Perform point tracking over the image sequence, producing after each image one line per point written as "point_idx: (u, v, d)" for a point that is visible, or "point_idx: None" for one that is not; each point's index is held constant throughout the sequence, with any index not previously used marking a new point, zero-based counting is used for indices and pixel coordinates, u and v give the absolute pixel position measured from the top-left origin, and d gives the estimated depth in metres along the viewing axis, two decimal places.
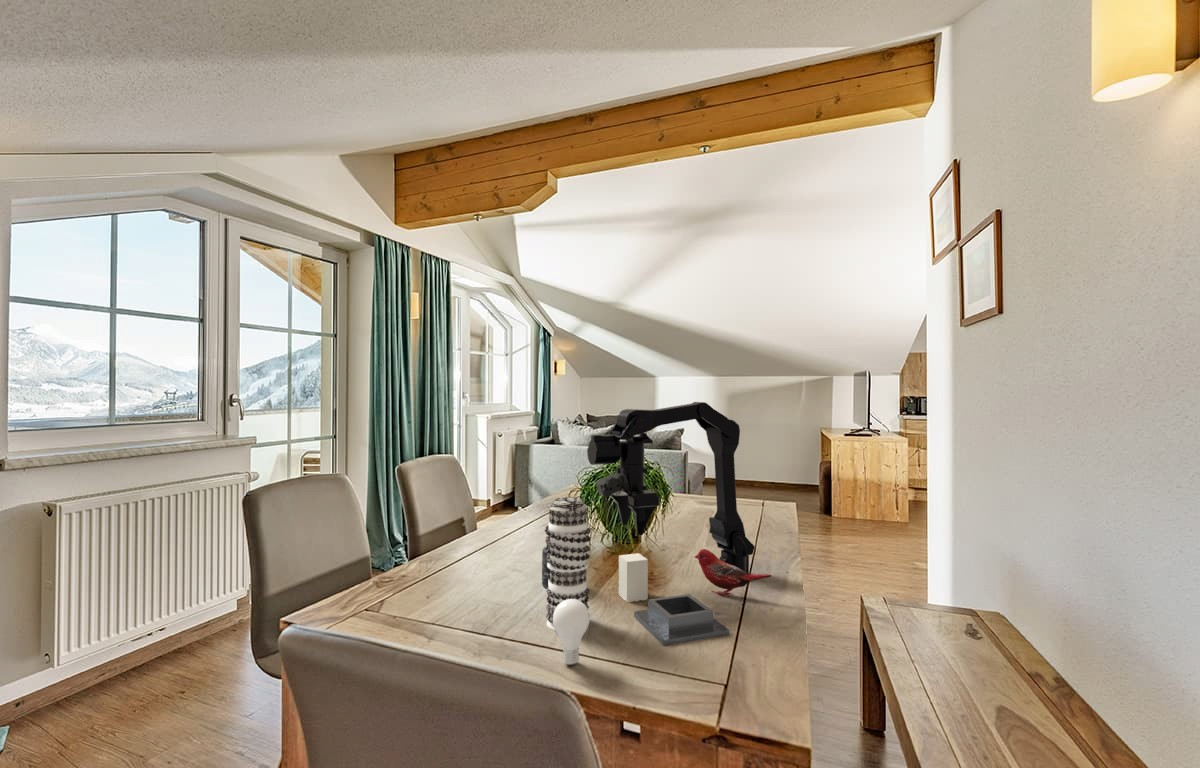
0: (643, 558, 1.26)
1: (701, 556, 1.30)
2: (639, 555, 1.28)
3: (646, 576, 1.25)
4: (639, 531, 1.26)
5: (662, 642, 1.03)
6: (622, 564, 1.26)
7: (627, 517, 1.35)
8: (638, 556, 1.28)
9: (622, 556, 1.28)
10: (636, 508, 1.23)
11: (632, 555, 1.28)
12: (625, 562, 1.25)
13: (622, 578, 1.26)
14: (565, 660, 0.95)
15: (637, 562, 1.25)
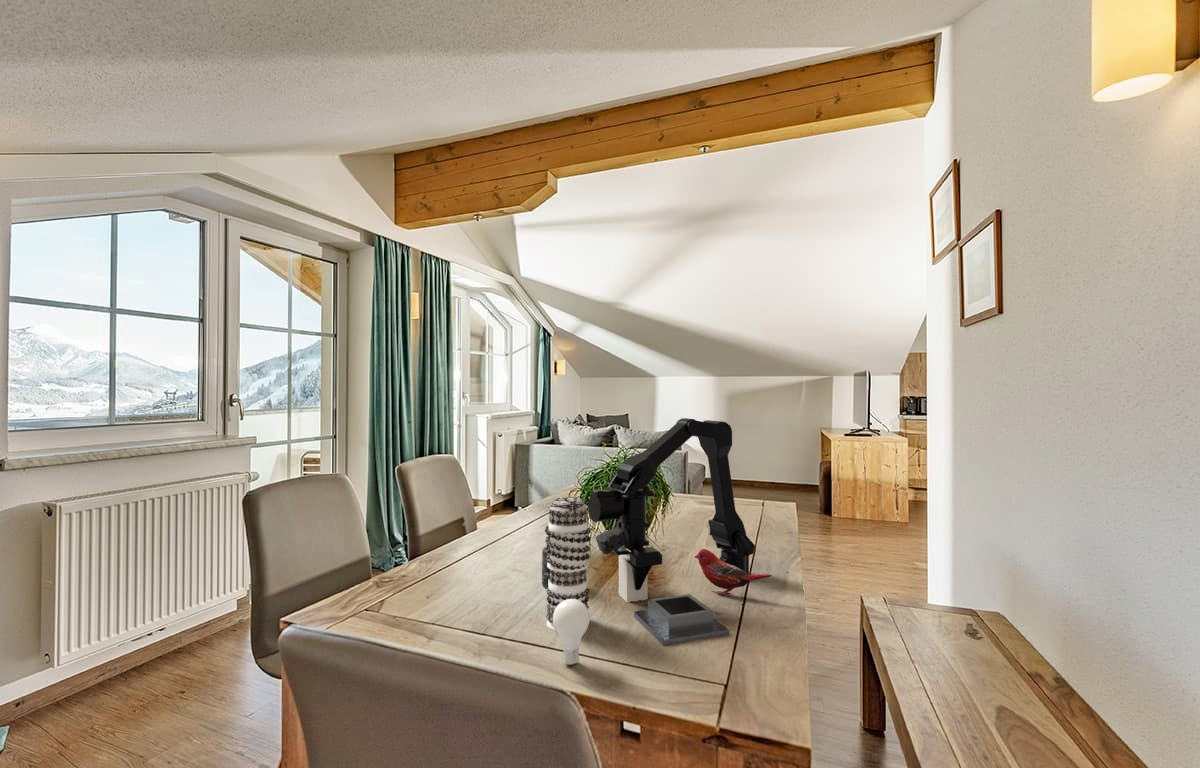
0: None
1: (701, 556, 1.30)
2: None
3: (646, 576, 1.25)
4: (637, 586, 1.24)
5: (662, 642, 1.03)
6: (622, 564, 1.26)
7: None
8: None
9: (622, 556, 1.28)
10: (634, 565, 1.21)
11: None
12: (625, 562, 1.25)
13: (622, 578, 1.26)
14: (565, 660, 0.95)
15: None
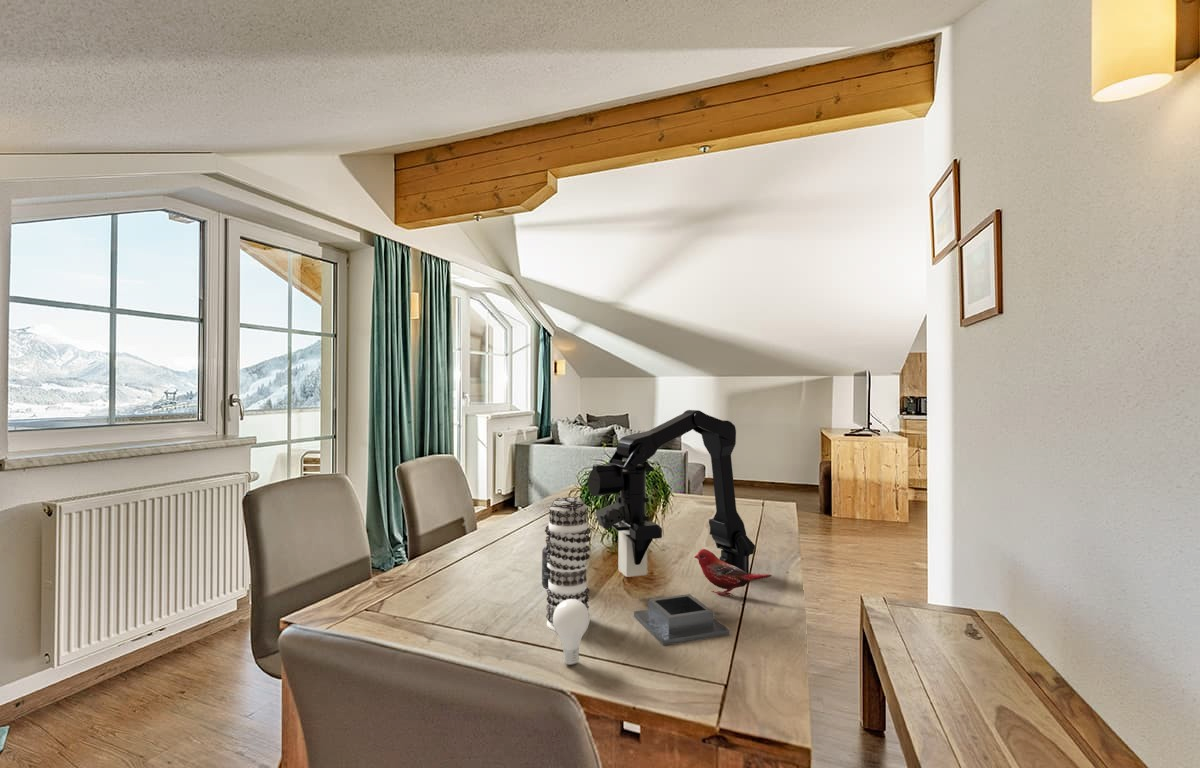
0: None
1: (701, 556, 1.30)
2: None
3: (646, 551, 1.25)
4: (637, 561, 1.24)
5: (662, 642, 1.03)
6: (621, 539, 1.26)
7: None
8: None
9: (622, 531, 1.28)
10: (634, 539, 1.21)
11: None
12: (625, 537, 1.25)
13: (621, 553, 1.26)
14: (565, 660, 0.95)
15: None
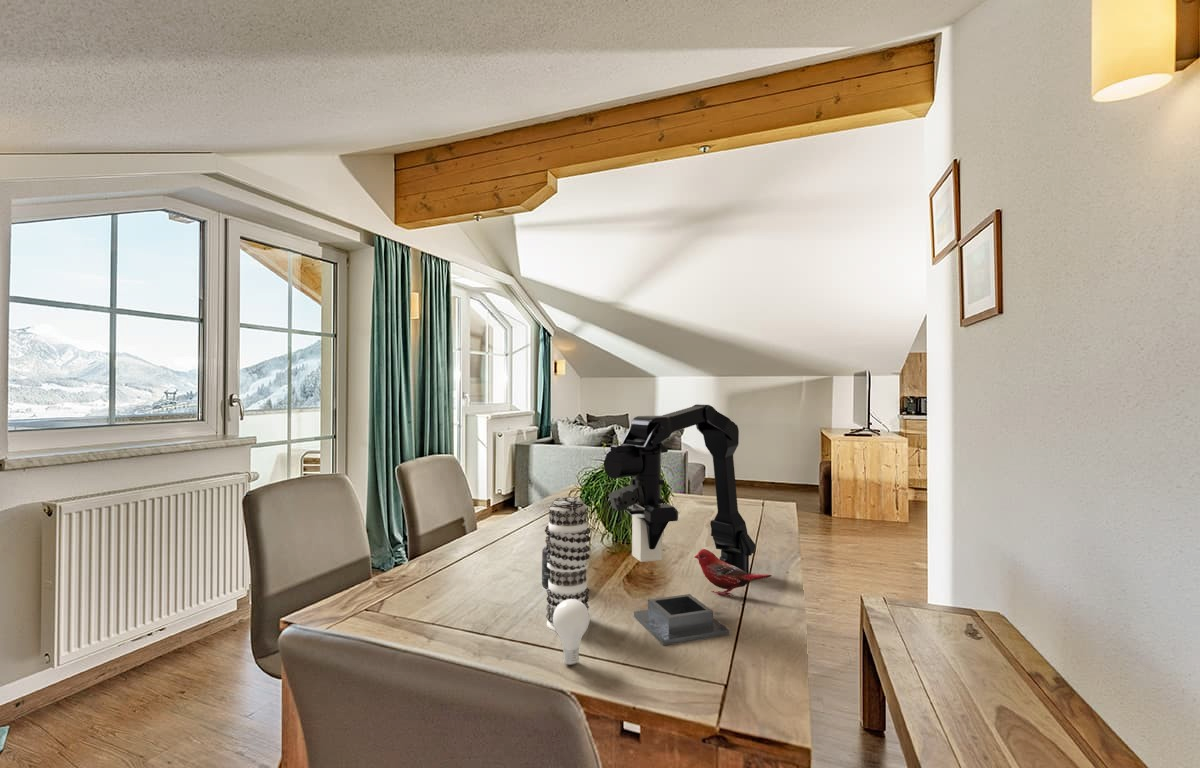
0: None
1: (701, 556, 1.30)
2: None
3: (661, 535, 1.20)
4: (652, 545, 1.19)
5: (662, 642, 1.03)
6: (635, 522, 1.21)
7: None
8: None
9: (636, 515, 1.23)
10: (649, 521, 1.15)
11: None
12: (639, 520, 1.20)
13: (635, 537, 1.21)
14: (565, 660, 0.95)
15: None
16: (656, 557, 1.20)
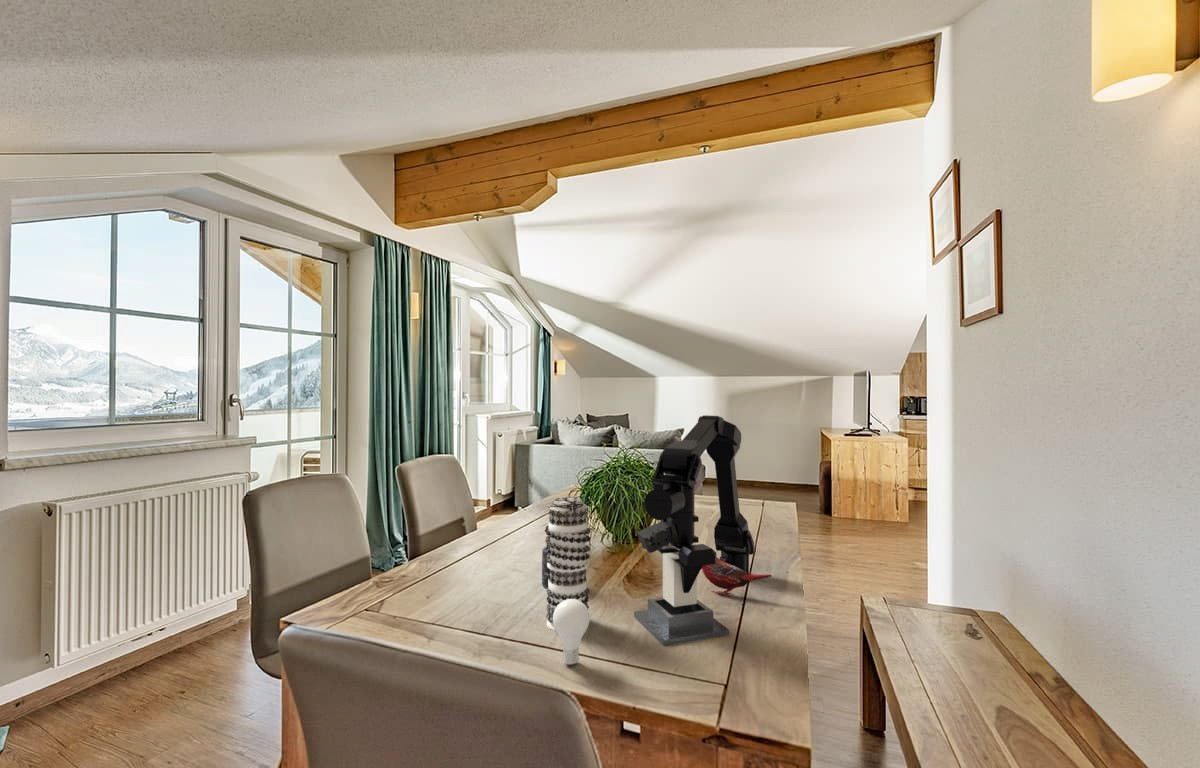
0: None
1: None
2: None
3: None
4: (686, 589, 1.09)
5: (662, 642, 1.03)
6: (667, 563, 1.11)
7: None
8: None
9: (667, 554, 1.13)
10: (684, 564, 1.06)
11: (678, 553, 1.13)
12: (671, 561, 1.10)
13: (667, 579, 1.11)
14: (565, 660, 0.95)
15: None
16: (690, 601, 1.10)
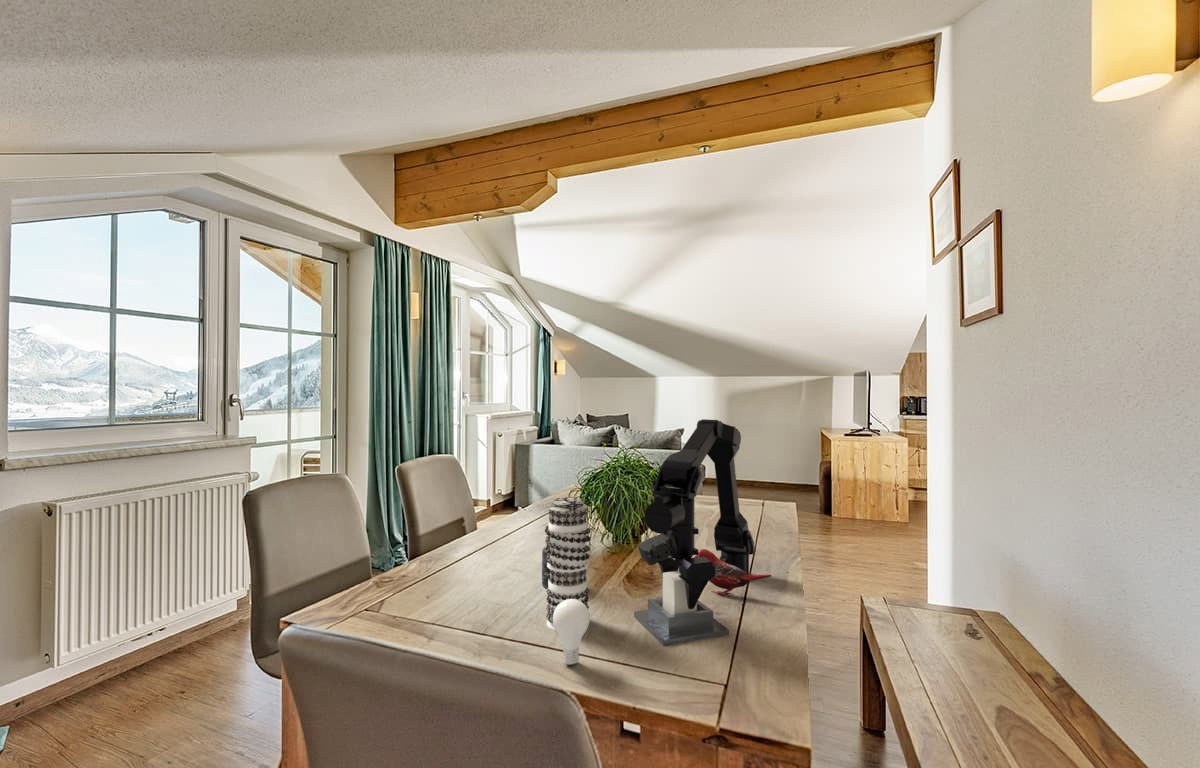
0: None
1: (701, 556, 1.30)
2: None
3: None
4: (691, 605, 1.07)
5: (662, 642, 1.03)
6: (667, 583, 1.11)
7: None
8: None
9: (667, 574, 1.13)
10: (689, 580, 1.04)
11: (678, 572, 1.13)
12: (672, 581, 1.10)
13: (667, 599, 1.11)
14: (565, 660, 0.95)
15: None
16: None
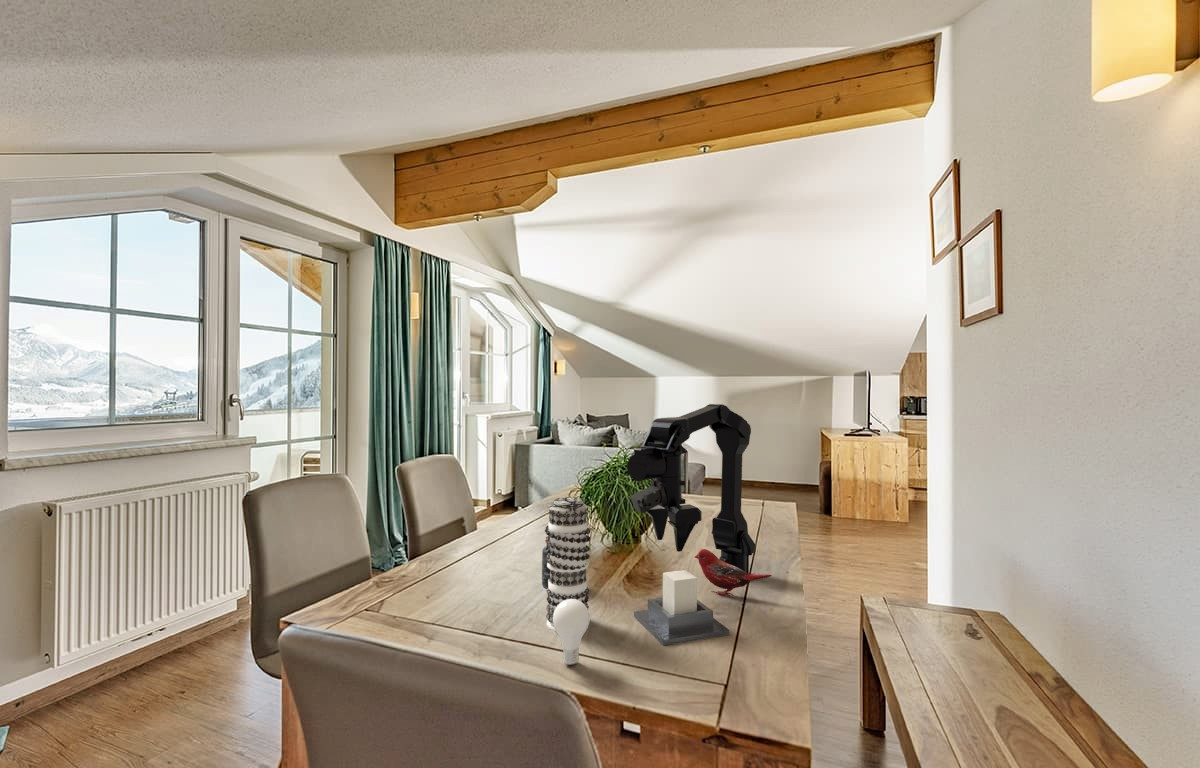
0: (691, 576, 1.11)
1: (701, 556, 1.30)
2: (686, 572, 1.13)
3: (695, 597, 1.10)
4: (679, 548, 1.19)
5: (662, 642, 1.03)
6: (667, 583, 1.11)
7: (662, 531, 1.29)
8: (685, 573, 1.13)
9: (667, 574, 1.13)
10: (677, 524, 1.16)
11: (678, 572, 1.13)
12: (672, 581, 1.10)
13: (667, 599, 1.11)
14: (565, 660, 0.95)
15: (685, 581, 1.10)
16: None
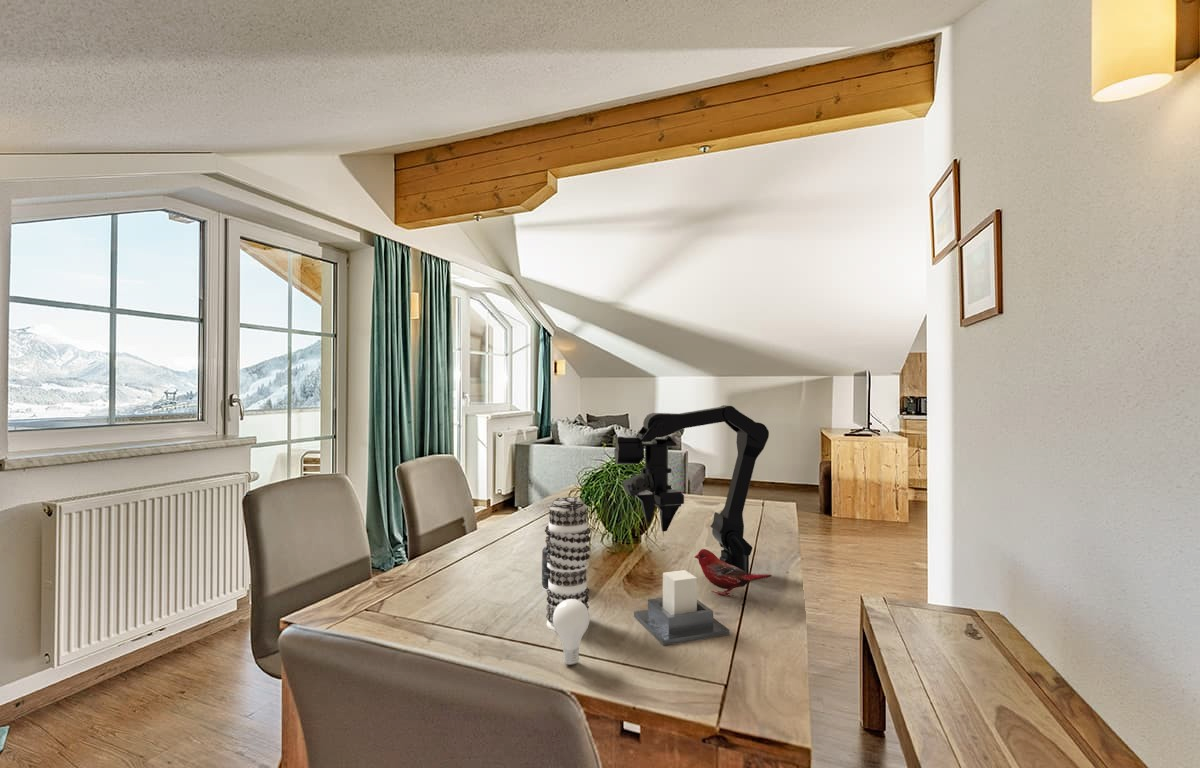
0: (691, 576, 1.11)
1: (701, 556, 1.30)
2: (686, 572, 1.13)
3: (695, 597, 1.10)
4: (664, 528, 1.34)
5: (662, 642, 1.03)
6: (667, 583, 1.11)
7: (651, 515, 1.43)
8: (685, 573, 1.13)
9: (667, 574, 1.13)
10: (662, 506, 1.31)
11: (678, 572, 1.13)
12: (672, 581, 1.10)
13: (667, 599, 1.11)
14: (565, 660, 0.95)
15: (685, 581, 1.10)
16: None
